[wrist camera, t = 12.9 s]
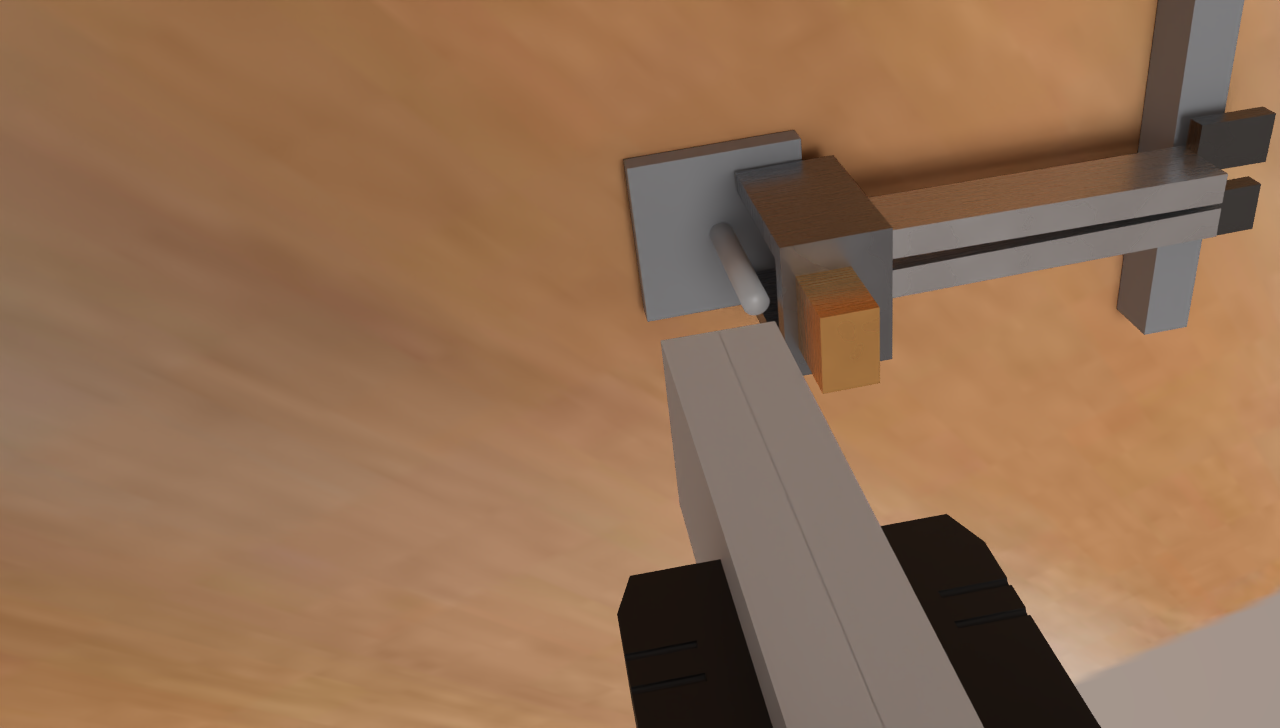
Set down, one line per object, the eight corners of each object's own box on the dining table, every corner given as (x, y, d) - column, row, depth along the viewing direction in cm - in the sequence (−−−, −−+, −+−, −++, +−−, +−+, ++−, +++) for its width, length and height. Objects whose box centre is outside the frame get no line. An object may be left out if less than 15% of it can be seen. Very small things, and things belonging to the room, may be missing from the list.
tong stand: (656, 395, 50) (684, 490, 44) (607, 47, 41) (634, 108, 35) (1157, 301, 51) (1249, 381, 45) (1213, -54, 42) (1336, -11, 37)
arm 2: (793, 237, 43) (814, 272, 41) (791, 181, 42) (813, 213, 39) (1248, 161, 44) (1296, 190, 42) (1259, 105, 43) (1310, 131, 41)
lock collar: (744, 291, 46) (810, 424, 38) (734, 172, 43) (803, 289, 35) (836, 274, 46) (921, 403, 38) (833, 155, 43) (924, 266, 35)
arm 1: (797, 302, 45) (817, 339, 42) (793, 250, 43) (815, 285, 41) (1237, 218, 46) (1283, 249, 43) (1247, 165, 44) (1295, 194, 42)
